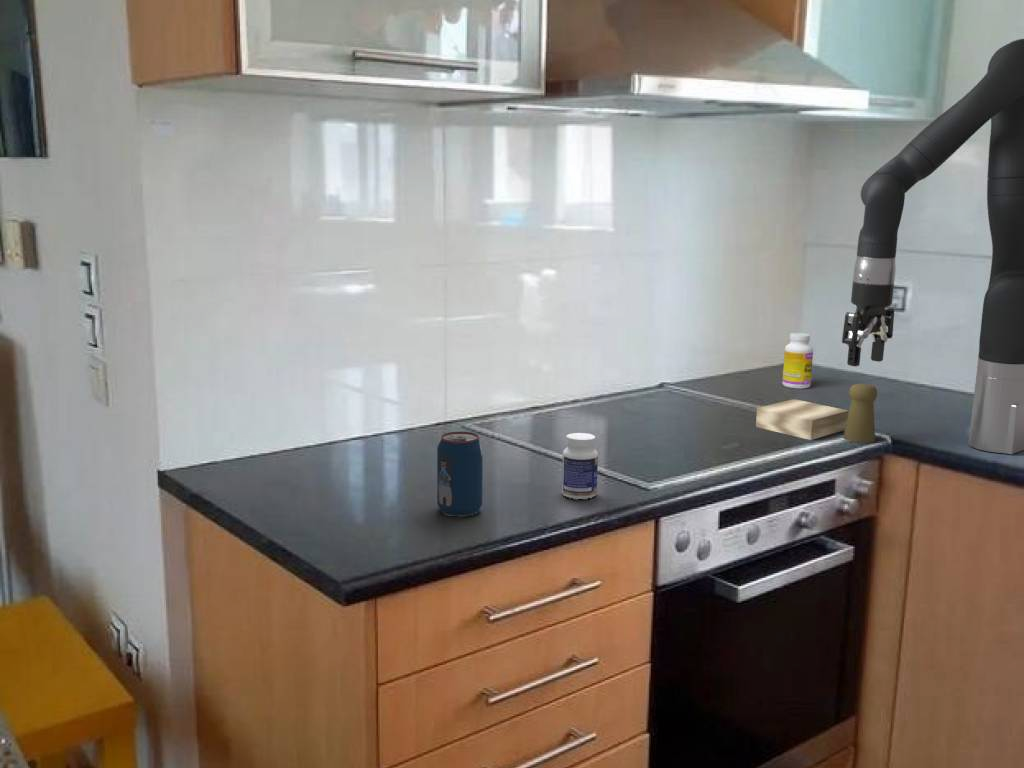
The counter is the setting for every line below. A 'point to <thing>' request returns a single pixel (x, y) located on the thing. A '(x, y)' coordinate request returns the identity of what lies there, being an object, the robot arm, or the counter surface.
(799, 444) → the counter surface
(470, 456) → the soda can
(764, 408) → the block
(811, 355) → the supplement bottle
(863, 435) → the cork
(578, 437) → the pill bottle
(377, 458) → the counter surface
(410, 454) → the counter surface
